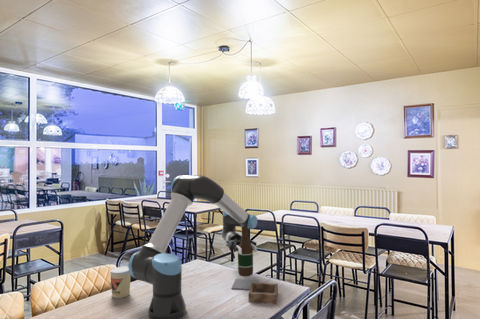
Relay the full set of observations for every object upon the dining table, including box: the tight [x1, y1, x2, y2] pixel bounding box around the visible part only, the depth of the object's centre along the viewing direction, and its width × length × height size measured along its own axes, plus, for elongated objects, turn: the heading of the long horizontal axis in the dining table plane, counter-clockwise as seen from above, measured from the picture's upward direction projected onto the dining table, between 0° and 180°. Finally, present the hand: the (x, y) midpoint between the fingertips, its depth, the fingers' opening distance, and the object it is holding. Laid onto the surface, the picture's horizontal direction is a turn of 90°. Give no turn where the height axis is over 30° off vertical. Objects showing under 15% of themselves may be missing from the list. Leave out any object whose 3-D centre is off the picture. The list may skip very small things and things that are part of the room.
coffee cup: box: [109, 265, 132, 299], centre depth 150 cm, size 9×9×12 cm
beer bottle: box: [237, 226, 254, 277], centre depth 160 cm, size 8×8×24 cm
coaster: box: [231, 278, 259, 291], centre depth 160 cm, size 12×12×1 cm
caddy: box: [248, 282, 279, 305], centre depth 146 cm, size 12×12×4 cm
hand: (248, 250), depth 156 cm, fingers closed on beer bottle, 7 cm apart
